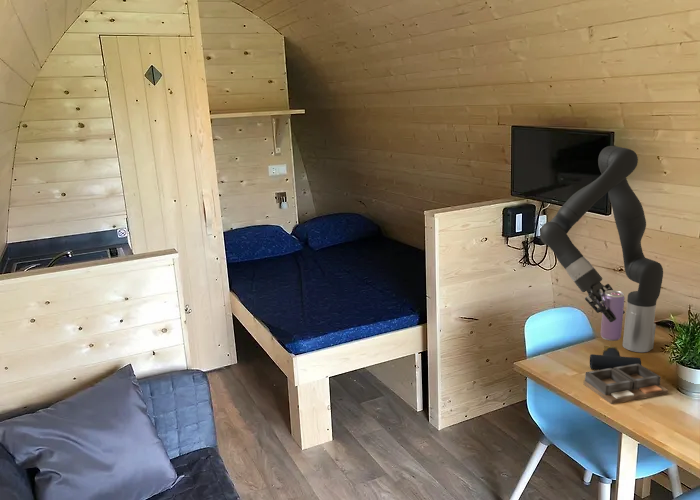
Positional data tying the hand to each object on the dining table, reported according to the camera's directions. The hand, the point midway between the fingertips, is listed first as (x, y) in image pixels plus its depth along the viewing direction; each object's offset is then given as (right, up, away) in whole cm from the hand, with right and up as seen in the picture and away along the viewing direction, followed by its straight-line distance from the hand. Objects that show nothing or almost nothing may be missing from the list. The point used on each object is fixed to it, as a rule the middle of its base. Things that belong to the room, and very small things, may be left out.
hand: (618, 317), depth 182 cm
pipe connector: (+5, -19, +16) cm, 25 cm away
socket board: (+2, -22, 0) cm, 22 cm away
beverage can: (-1, -7, +3) cm, 8 cm away
